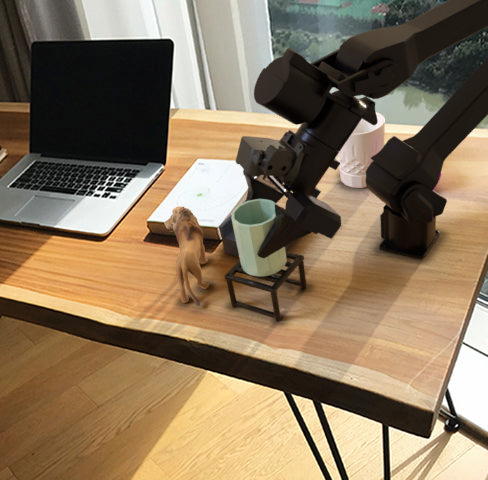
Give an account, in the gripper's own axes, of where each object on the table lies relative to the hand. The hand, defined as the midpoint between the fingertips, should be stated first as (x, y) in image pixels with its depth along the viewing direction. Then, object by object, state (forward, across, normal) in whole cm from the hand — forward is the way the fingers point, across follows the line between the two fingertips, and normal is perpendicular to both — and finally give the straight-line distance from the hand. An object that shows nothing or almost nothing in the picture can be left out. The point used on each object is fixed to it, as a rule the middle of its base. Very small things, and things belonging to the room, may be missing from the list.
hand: (250, 244), depth 88 cm
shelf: (+3, -12, +11) cm, 16 cm away
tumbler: (+2, 0, +4) cm, 4 cm away
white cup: (-12, -20, +26) cm, 35 cm away
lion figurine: (+12, -11, +2) cm, 16 cm away
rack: (+6, 0, +8) cm, 10 cm away
